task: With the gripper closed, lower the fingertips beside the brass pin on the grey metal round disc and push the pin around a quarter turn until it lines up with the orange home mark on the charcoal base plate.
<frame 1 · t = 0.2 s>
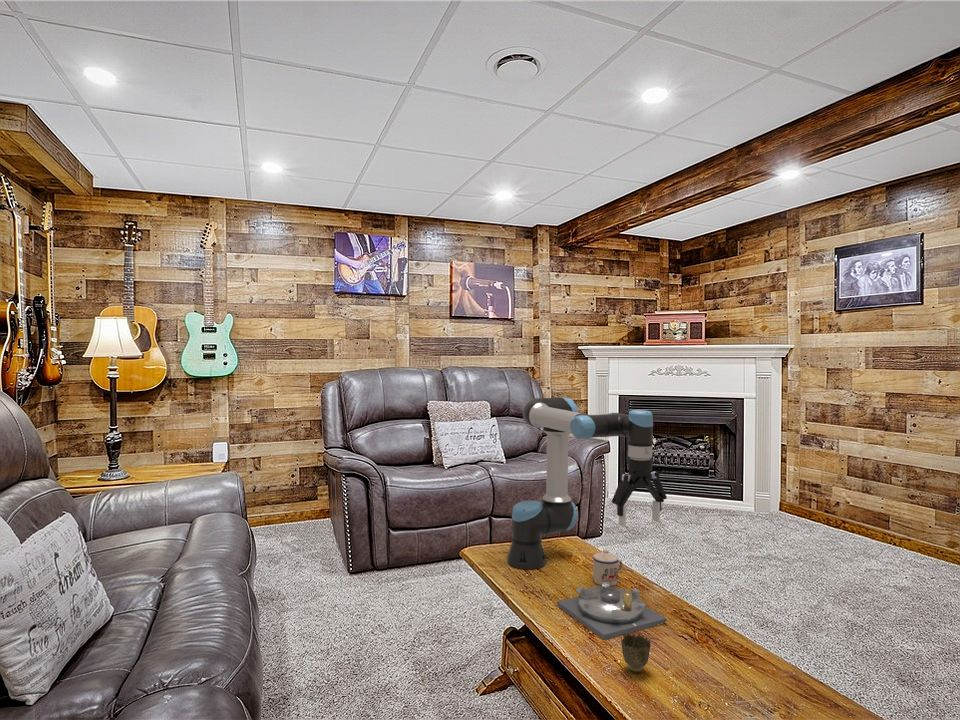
hand: (639, 523, 183), 28 cm above the table, tool pointing down, fingers open, 13 cm apart
teacup with lid: (608, 581, 205), on the table
cup: (635, 671, 148), on the table
grey metal round disc: (610, 596, 179), point 6 cm above the table, hinge at 0.0°
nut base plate: (610, 614, 179), on the table
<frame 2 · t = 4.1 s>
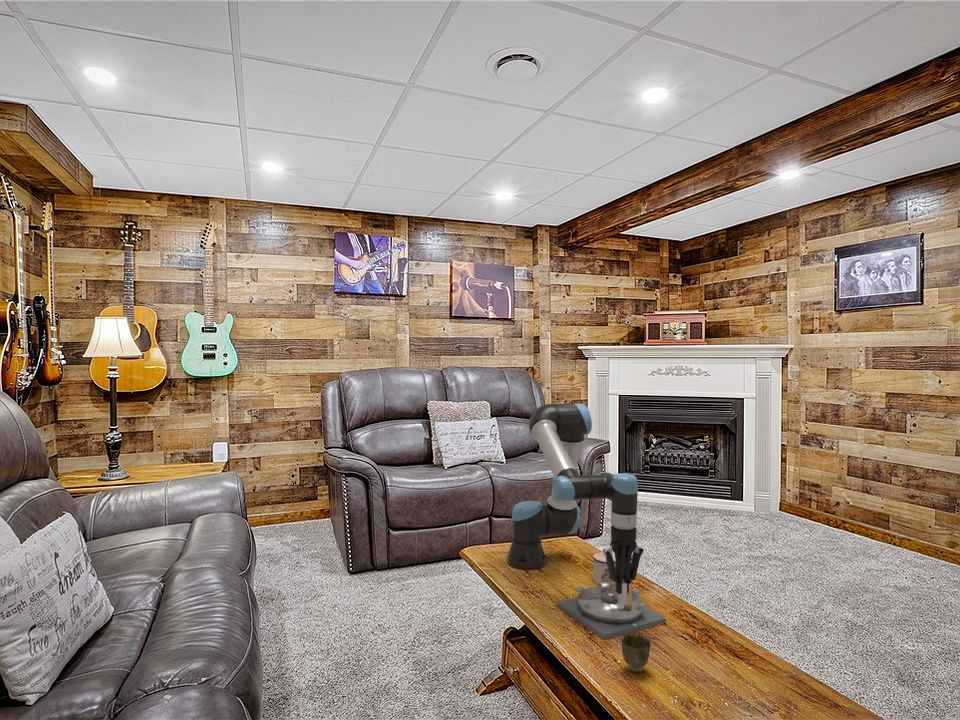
hand: (622, 603, 171), 7 cm above the table, tool pointing down, fingers closed
grey metal round disc: (610, 596, 179), point 6 cm above the table, hinge at 0.4°, touching gripper
everything else where it was.
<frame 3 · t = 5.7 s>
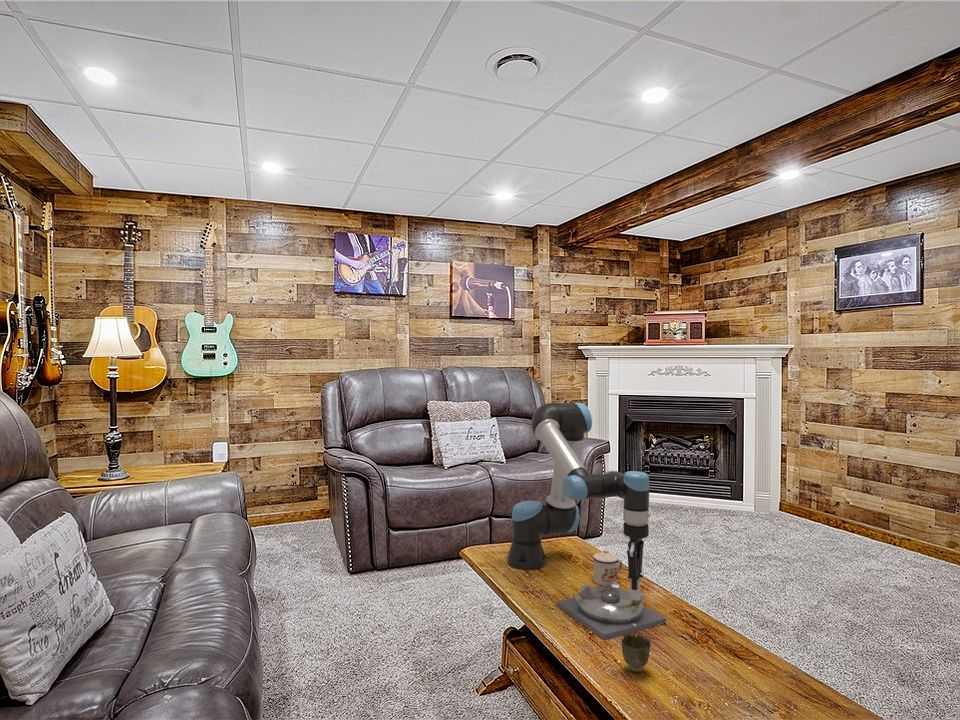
hand: (635, 598, 175), 7 cm above the table, tool pointing down, fingers closed
grey metal round disc: (610, 596, 179), point 6 cm above the table, hinge at 41.7°, touching gripper
everything else where it was.
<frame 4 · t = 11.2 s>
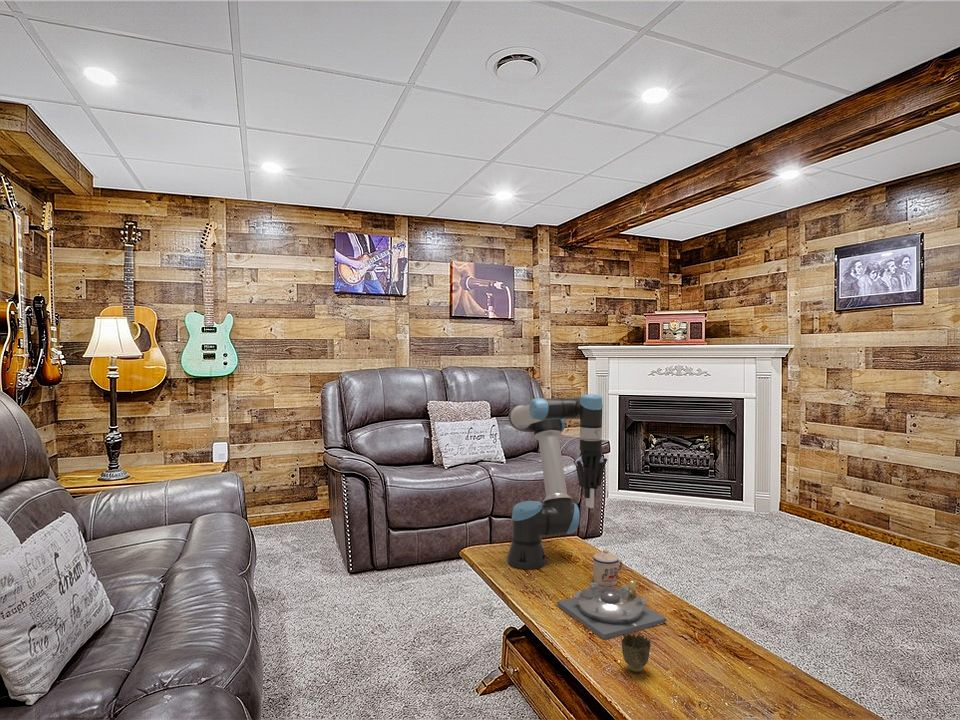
hand: (589, 506, 196), 29 cm above the table, tool pointing down, fingers closed
grey metal round disc: (610, 596, 179), point 6 cm above the table, hinge at 81.7°
everything else where it was.
at the end: grey metal round disc at +82° (first picture: +0°) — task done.
